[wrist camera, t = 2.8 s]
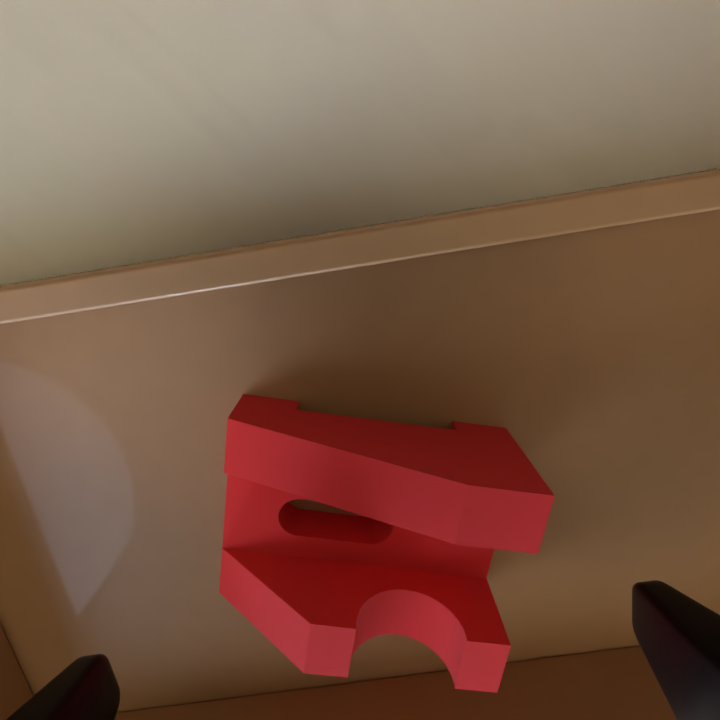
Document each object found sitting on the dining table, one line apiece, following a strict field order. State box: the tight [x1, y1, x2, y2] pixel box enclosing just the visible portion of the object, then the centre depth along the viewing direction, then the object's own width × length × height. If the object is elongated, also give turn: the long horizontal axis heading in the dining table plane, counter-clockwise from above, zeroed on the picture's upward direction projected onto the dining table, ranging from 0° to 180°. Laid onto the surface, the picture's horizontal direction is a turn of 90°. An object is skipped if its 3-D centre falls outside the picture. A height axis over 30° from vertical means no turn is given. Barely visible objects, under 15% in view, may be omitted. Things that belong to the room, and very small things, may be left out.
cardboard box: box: [0, 169, 720, 720], centre depth 11 cm, size 22×13×3 cm, turn 99°
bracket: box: [219, 394, 555, 693], centre depth 11 cm, size 6×5×3 cm
